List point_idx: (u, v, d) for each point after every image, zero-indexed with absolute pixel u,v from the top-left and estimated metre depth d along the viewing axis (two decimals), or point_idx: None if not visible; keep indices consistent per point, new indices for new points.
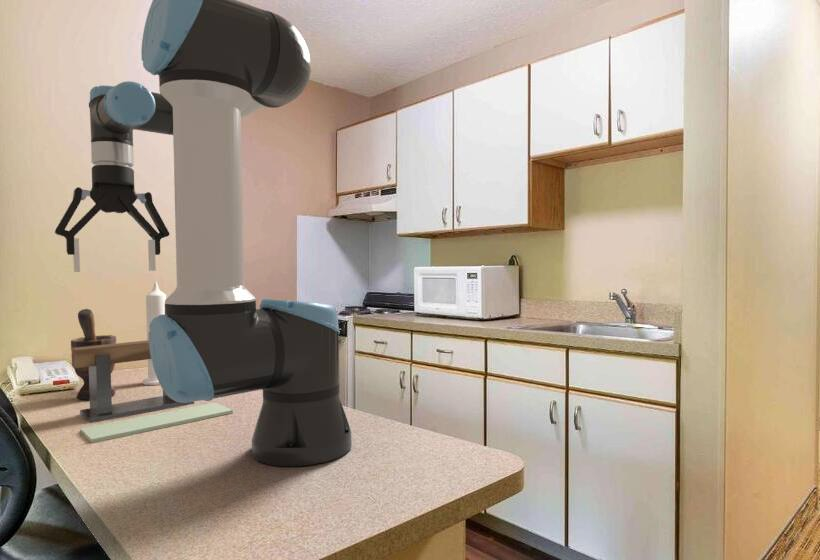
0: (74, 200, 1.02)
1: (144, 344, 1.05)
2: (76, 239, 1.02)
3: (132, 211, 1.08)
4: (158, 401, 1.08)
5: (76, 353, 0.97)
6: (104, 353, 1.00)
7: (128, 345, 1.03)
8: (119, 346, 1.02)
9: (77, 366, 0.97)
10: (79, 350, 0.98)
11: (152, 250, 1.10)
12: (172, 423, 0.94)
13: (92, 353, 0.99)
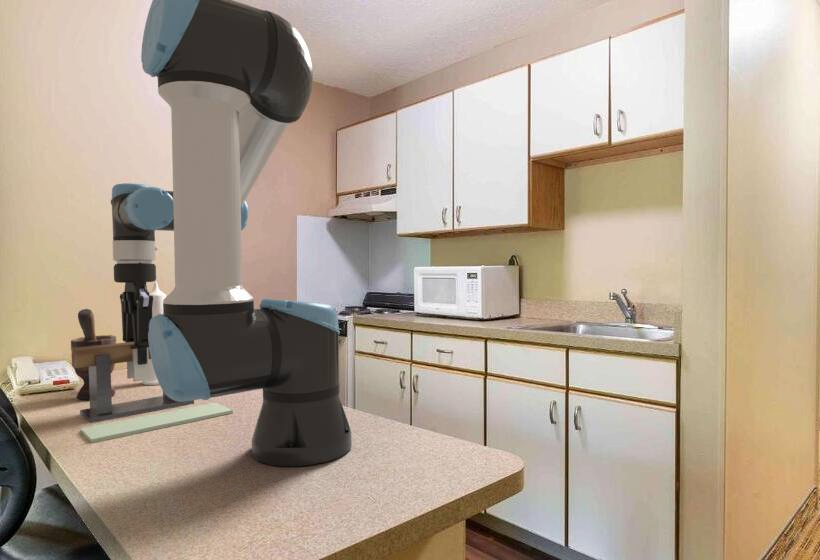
0: (121, 307, 1.09)
1: None
2: None
3: (129, 311, 1.03)
4: (158, 401, 1.08)
5: (76, 353, 0.97)
6: (104, 353, 1.00)
7: (128, 345, 1.03)
8: (119, 346, 1.02)
9: (77, 366, 0.97)
10: (79, 350, 0.98)
11: (133, 360, 1.04)
12: (172, 423, 0.94)
13: (92, 353, 0.99)
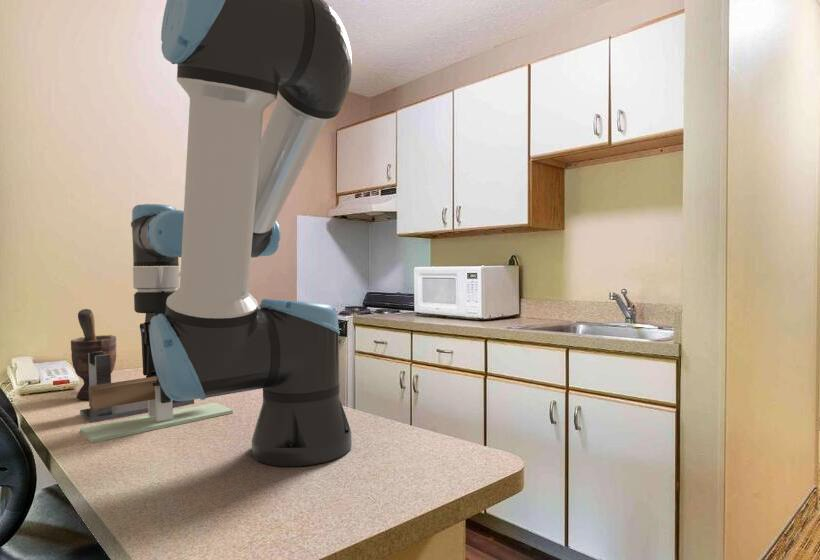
0: (141, 337, 1.00)
1: None
2: None
3: None
4: None
5: (94, 393, 0.88)
6: (124, 391, 0.91)
7: (150, 381, 0.94)
8: (140, 383, 0.93)
9: (95, 407, 0.88)
10: (97, 389, 0.88)
11: (155, 397, 0.94)
12: (172, 423, 0.94)
13: (111, 392, 0.90)
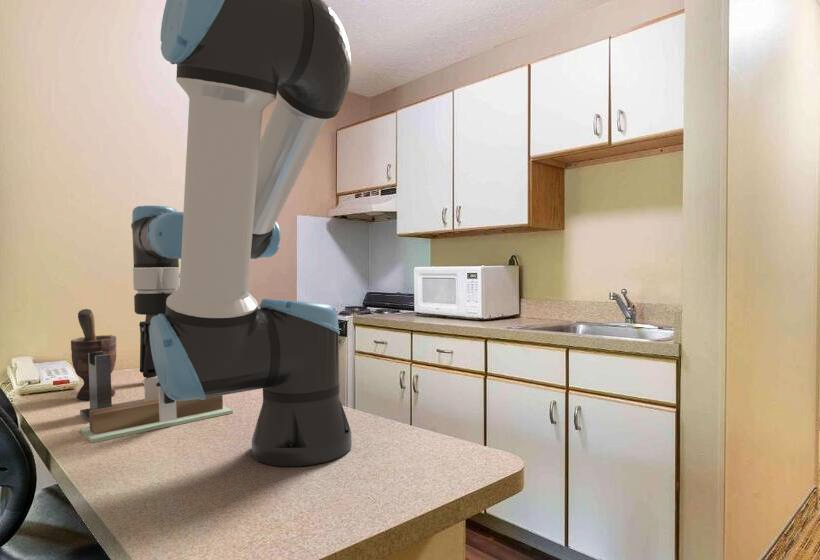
0: (140, 335, 1.00)
1: None
2: (144, 379, 0.99)
3: None
4: None
5: (95, 418, 0.88)
6: (125, 415, 0.91)
7: (151, 405, 0.94)
8: (141, 407, 0.93)
9: (96, 432, 0.88)
10: (98, 414, 0.88)
11: (159, 398, 0.93)
12: (172, 423, 0.94)
13: (112, 417, 0.90)
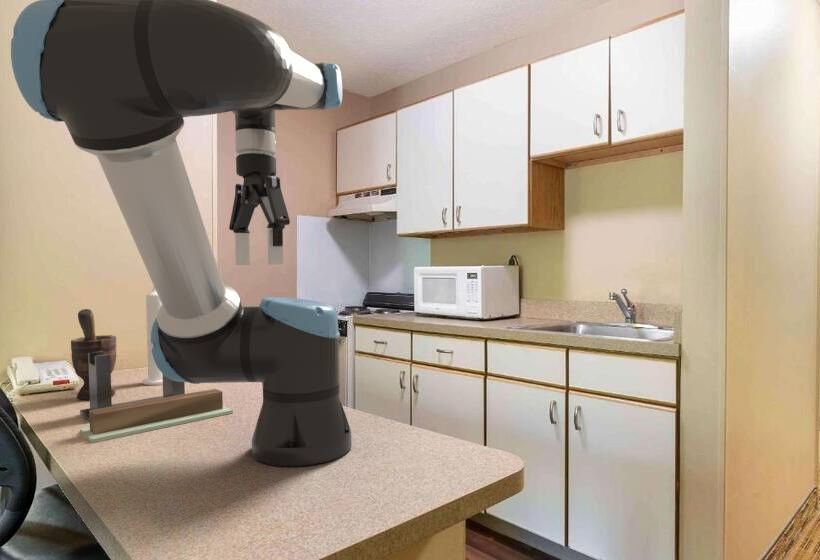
0: (235, 197, 1.07)
1: (168, 403, 0.96)
2: (235, 234, 1.07)
3: (256, 200, 0.99)
4: None
5: (95, 418, 0.88)
6: (125, 415, 0.91)
7: (151, 405, 0.94)
8: (141, 407, 0.93)
9: (96, 432, 0.88)
10: (98, 414, 0.88)
11: (268, 241, 0.97)
12: (172, 423, 0.94)
13: (112, 417, 0.90)
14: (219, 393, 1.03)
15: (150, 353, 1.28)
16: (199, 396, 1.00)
